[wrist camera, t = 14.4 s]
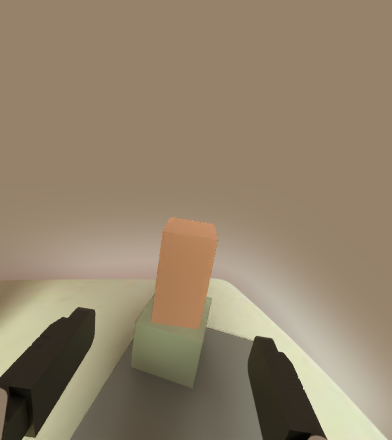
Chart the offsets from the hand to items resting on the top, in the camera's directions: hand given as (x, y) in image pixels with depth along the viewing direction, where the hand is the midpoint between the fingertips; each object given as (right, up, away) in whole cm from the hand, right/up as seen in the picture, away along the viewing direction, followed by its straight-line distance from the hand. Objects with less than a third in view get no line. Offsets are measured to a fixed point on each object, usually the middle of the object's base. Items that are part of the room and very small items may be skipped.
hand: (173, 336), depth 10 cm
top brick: (-1, -5, +13) cm, 14 cm away
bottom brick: (-2, -10, +15) cm, 18 cm away
